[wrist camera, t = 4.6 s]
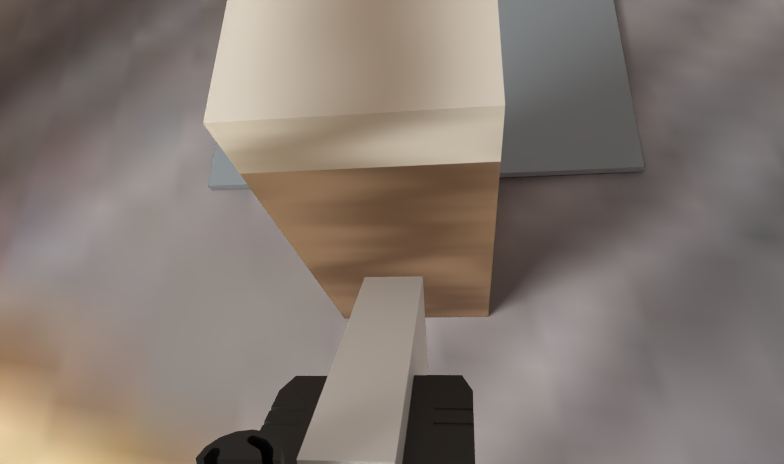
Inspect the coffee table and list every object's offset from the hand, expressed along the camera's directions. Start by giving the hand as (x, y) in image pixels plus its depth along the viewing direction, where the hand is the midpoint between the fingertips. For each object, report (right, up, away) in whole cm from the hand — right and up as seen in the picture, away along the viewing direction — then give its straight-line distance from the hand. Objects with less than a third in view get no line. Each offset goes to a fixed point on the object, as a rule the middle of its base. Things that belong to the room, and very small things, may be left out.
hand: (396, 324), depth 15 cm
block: (+1, +2, +10) cm, 10 cm away
